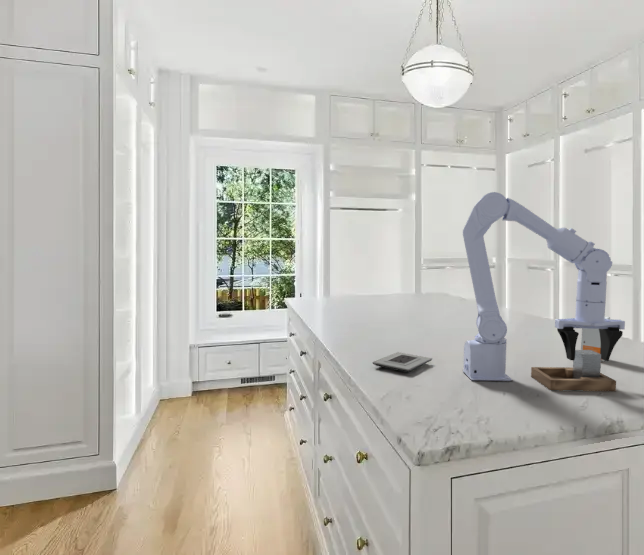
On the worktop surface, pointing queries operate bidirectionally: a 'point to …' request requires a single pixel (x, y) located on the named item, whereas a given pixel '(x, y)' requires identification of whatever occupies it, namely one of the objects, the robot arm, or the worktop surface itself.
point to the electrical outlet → (402, 361)
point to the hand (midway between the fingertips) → (587, 359)
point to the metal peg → (586, 364)
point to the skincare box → (591, 339)
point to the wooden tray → (571, 380)
